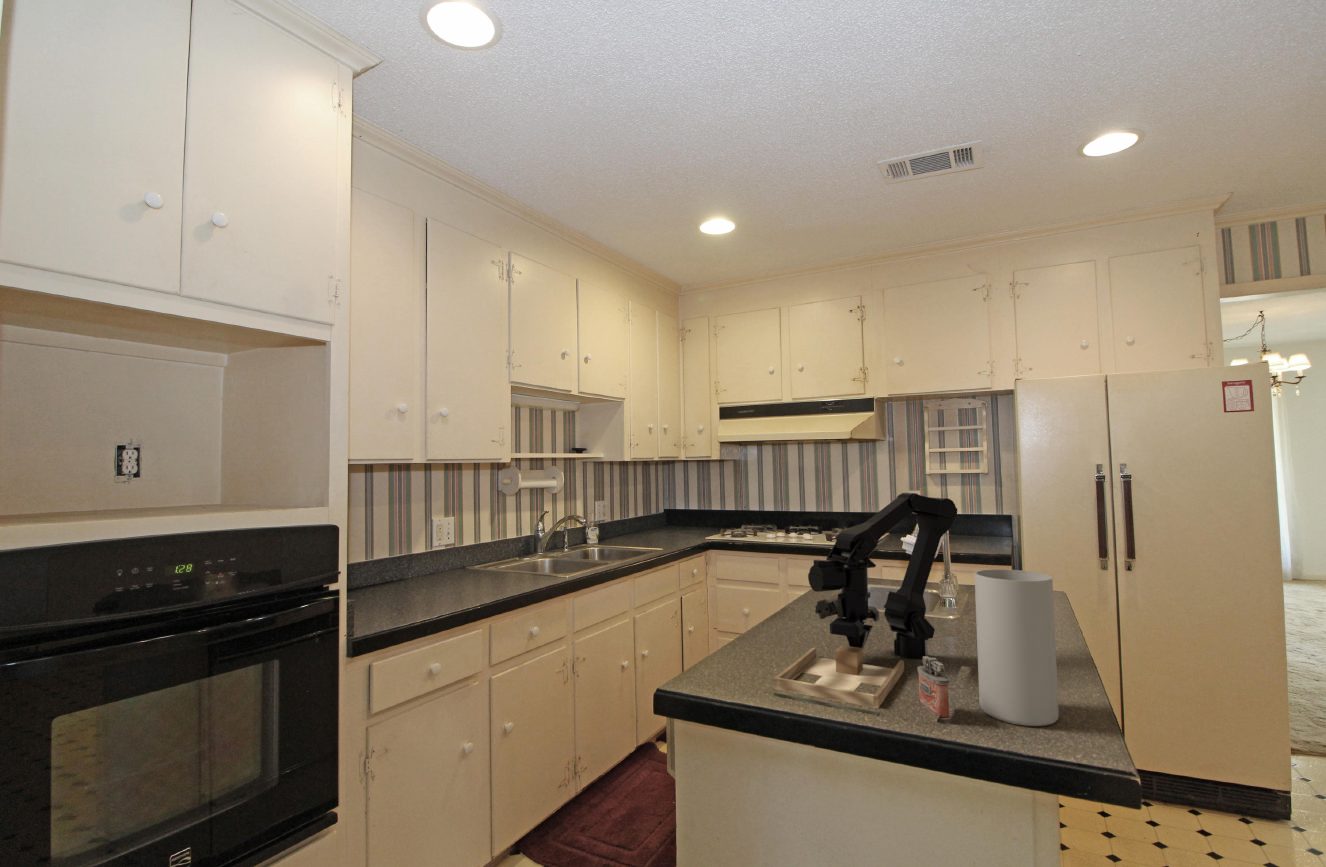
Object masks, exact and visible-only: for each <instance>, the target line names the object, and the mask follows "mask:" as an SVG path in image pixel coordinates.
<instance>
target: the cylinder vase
mask: <svg viewBox="0 0 1326 867" xmlns="http://www.w3.org/2000/svg"><path fill="white" fill-rule="evenodd" d="M1053 580H1054V579H1053V576H1051V575H1049V574H1046V573H1041V572H1036V571H1028V570H1019V569H1005V568H1004V569H1003V568H1001V569H997V568H996V569H994V568H990V569H980V570H976V571H974V592H975V593H974V595H975V597H974V598H975V617H976V618H975V620H976V621H975V623H976V646H977V670H978V671H977V672H978V674H977V675H978V697H979V699H978V700H979V707H980V708H981V710H982V711H983V712H984V713H985V714H986V715H988V716H990V717H992V718H994V719H996V720H999V721H1001V722H1005V723H1009V724H1014V725H1018V726H1025V727H1045V726H1049V725H1053V724H1054V723H1057V721H1058V720H1059V717H1060V716H1059V715H1060V714H1059V713H1060V712H1059V695H1058V694H1059V691H1058V672H1057V652H1056V651H1057V650H1056V647H1057V646H1056V645H1057V644H1056V630H1055V626H1056V624H1055V605H1054V585H1053V583H1054V582H1053Z"/></svg>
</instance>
